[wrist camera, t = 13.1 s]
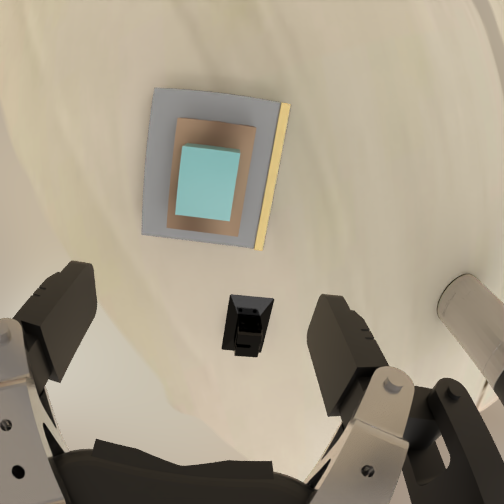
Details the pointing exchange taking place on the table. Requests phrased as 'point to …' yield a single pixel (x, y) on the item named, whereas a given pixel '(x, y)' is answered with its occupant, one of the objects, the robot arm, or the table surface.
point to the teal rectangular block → (207, 181)
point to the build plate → (246, 324)
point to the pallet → (220, 137)
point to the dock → (261, 167)
